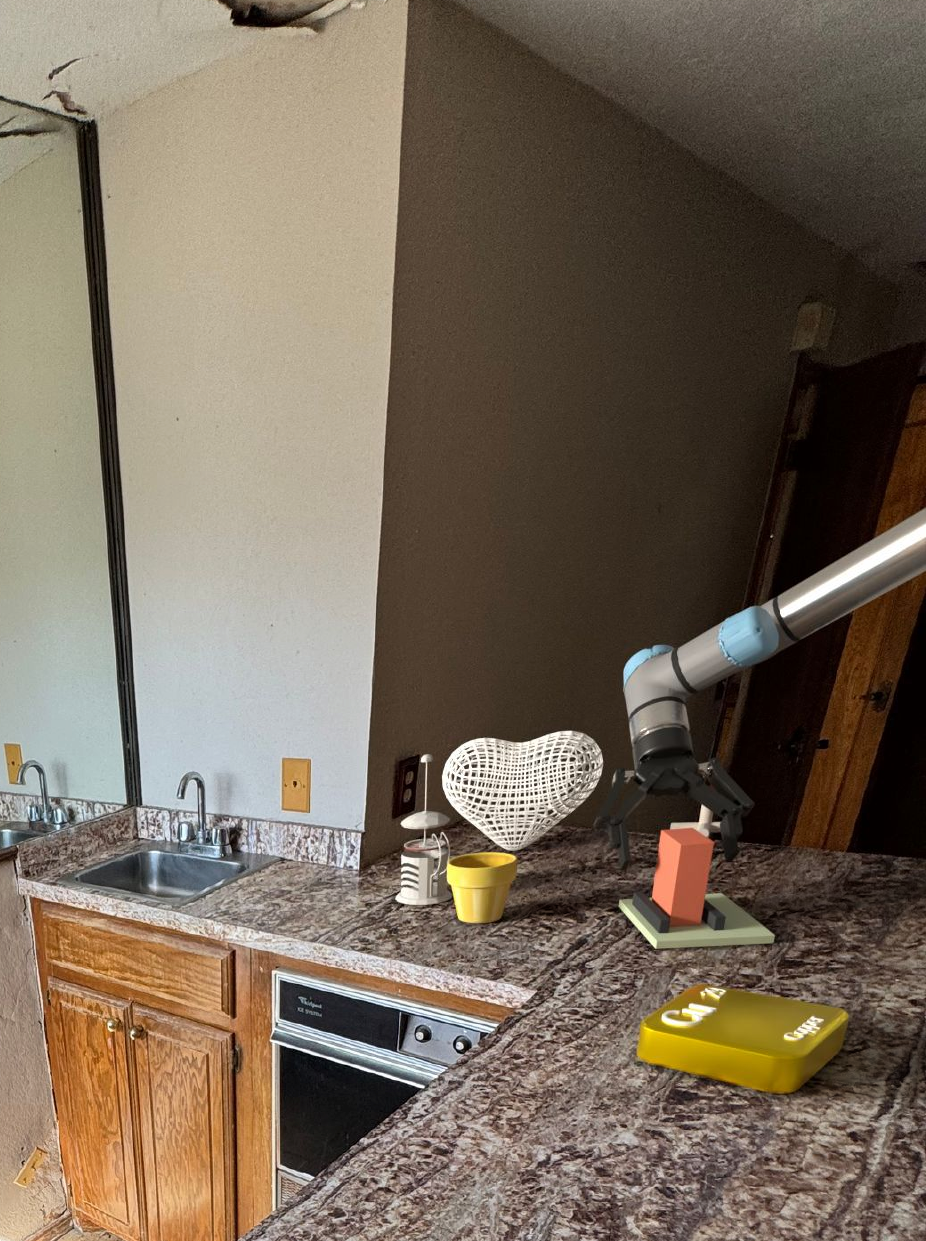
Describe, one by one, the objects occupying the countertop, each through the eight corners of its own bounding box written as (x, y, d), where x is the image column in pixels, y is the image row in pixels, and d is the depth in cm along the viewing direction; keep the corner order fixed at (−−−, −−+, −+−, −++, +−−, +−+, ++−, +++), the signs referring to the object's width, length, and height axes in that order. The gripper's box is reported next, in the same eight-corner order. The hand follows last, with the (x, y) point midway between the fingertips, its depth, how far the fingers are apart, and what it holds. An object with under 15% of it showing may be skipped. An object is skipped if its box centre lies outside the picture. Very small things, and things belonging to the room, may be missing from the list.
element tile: (789, 1099, 87) (799, 1056, 85) (628, 1059, 99) (633, 1020, 96) (847, 1046, 94) (858, 1005, 92) (690, 1014, 106) (696, 977, 104)
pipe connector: (664, 862, 157) (672, 805, 153) (669, 848, 164) (676, 793, 160) (733, 862, 151) (743, 803, 147) (735, 847, 158) (745, 791, 154)
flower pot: (448, 908, 153) (450, 852, 149) (515, 907, 148) (519, 849, 144) (442, 927, 145) (444, 869, 141) (512, 927, 140) (516, 867, 136)
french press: (434, 885, 165) (438, 746, 155) (469, 900, 155) (476, 752, 144) (385, 895, 165) (385, 756, 154) (417, 910, 154) (420, 763, 143)
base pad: (720, 900, 137) (724, 880, 136) (773, 943, 120) (778, 921, 119) (618, 906, 141) (620, 887, 140) (655, 949, 124) (658, 927, 123)
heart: (594, 838, 177) (606, 721, 168) (593, 858, 166) (607, 734, 156) (445, 843, 191) (448, 735, 181) (434, 862, 179) (438, 748, 169)
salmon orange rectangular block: (680, 906, 134) (692, 827, 129) (700, 925, 126) (714, 842, 121) (650, 908, 135) (661, 830, 130) (668, 927, 128) (680, 844, 122)
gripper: (746, 745, 136) (767, 867, 129) (564, 765, 143) (577, 880, 137) (766, 713, 129) (790, 839, 122) (575, 735, 136) (588, 855, 130)
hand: (678, 861), depth 130 cm, fingers open, 13 cm apart
